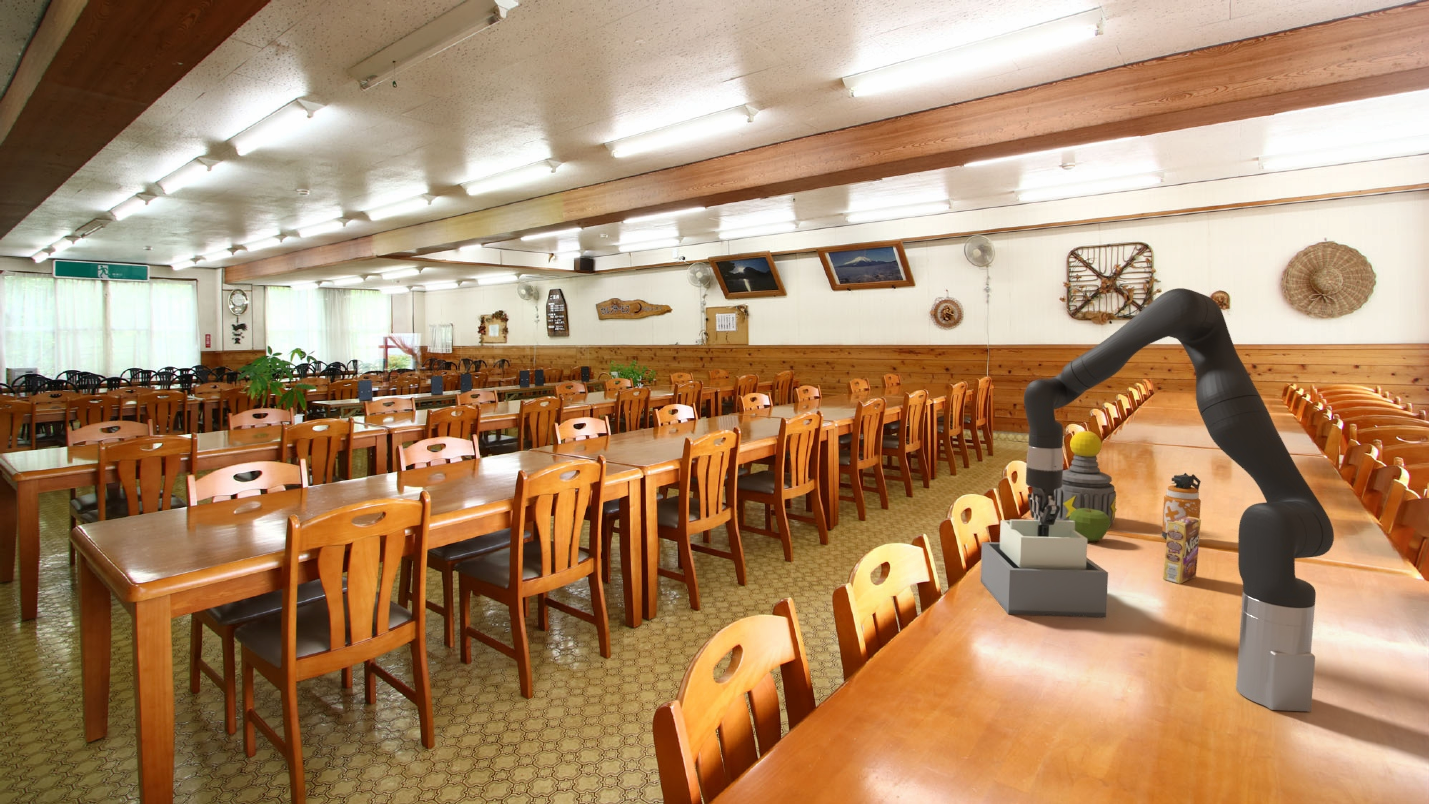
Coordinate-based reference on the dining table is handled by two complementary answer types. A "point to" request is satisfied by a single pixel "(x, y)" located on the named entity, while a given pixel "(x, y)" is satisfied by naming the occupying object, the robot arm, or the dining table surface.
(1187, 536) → the candy box
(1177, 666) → the dining table surface
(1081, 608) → the big crate
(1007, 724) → the dining table surface
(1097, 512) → the apple
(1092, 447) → the decorative lamp
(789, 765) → the dining table surface
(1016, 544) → the small crate
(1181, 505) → the canister
